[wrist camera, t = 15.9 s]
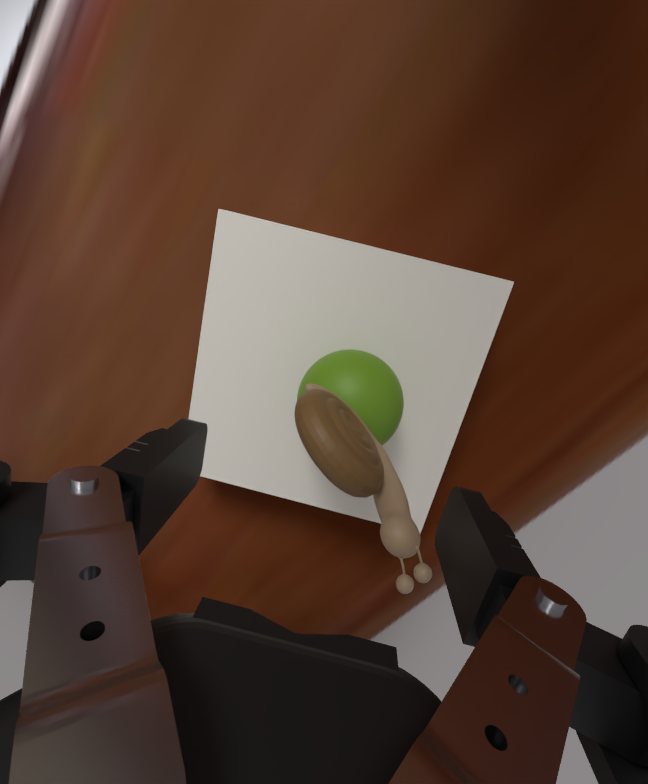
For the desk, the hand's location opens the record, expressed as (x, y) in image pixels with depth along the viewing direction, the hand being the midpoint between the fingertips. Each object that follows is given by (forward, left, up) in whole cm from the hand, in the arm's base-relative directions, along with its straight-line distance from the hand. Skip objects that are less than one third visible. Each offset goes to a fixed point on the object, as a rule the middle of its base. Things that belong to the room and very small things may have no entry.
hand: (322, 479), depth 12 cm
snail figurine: (0, +1, -11) cm, 11 cm away
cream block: (0, -1, -16) cm, 16 cm away
